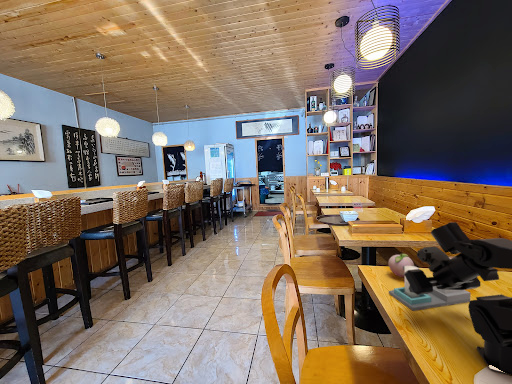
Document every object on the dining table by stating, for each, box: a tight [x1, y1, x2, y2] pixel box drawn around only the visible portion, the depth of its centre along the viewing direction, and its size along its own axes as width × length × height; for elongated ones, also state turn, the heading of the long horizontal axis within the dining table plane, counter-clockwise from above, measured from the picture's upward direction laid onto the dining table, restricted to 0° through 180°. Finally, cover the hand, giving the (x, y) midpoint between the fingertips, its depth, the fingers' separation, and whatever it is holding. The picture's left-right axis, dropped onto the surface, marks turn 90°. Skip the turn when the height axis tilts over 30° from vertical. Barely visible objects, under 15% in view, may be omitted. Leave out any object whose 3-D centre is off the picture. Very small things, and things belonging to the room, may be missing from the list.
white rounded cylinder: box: [403, 265, 420, 298], centre depth 72 cm, size 5×4×10 cm
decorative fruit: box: [387, 252, 415, 278], centre depth 87 cm, size 9×8×10 cm
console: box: [388, 282, 471, 312], centre depth 73 cm, size 21×10×4 cm, turn 99°
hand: (423, 288), depth 67 cm, fingers open, 9 cm apart
